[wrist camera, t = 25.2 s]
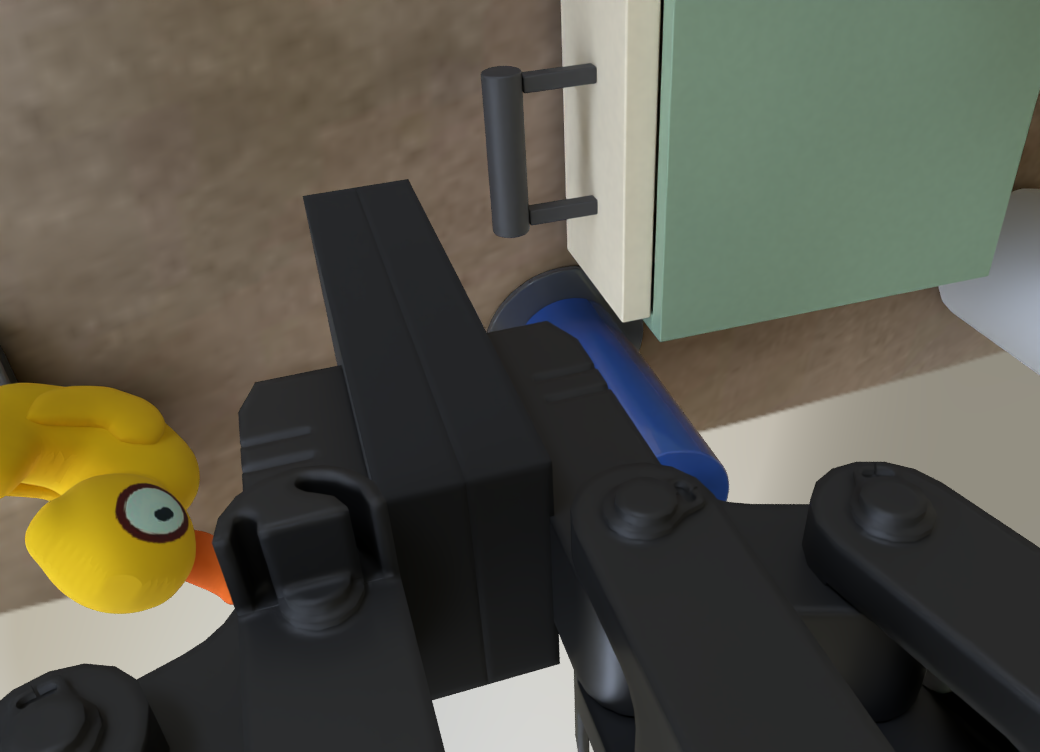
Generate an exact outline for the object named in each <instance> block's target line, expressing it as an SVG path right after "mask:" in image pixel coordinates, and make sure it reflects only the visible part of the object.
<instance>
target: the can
mask: <svg viewBox="0 0 1040 752" xmlns="http://www.w3.org/2000/svg"><path fill="white" fill-rule="evenodd" d="M938 287H939V291H940V294H941V298H942V302H943V303H944V304H945V305H946V306H947V307H948V308H949V310H950V311H951V312H952V313H954V314H955V315H956V316H958V317H959V318H961V319H962V320H963V321H965V322H966V323H968V324H969V325H970V326H972V327H973V328H974V329H976V330H977V331H979V332H980V333H981V334H983V335H984V336H986V337H987V338H988V339H990V340H991V341H992V342H994V343H995V344H997V345H998V346H999V347H1001V348H1002V349H1004V350H1005V351H1006V352H1008V353H1009V354H1011V355H1012V356H1013V357H1015V358H1016V359H1017V360H1019V361H1020V362H1022V363H1023V364H1024V365H1026V366H1027V367H1029V368H1030V369H1031V370H1033V371H1034V372H1036V373H1037V374H1038V375H1040V189H1024V188H1022V189H1019V190H1016V191H1013V192H1011V195H1010V199H1009V203H1008V206H1007V210H1006V214H1005V217H1004V221H1003V225H1002V228H1001V232H1000V235H999V239H998V243H997V246H996V250H995V254H994V257H993V261H992V265H991V268H990V272H989V275H988V276H986V277H981V278H976V279H971V280H966V281H961V282H956V283H951V284H946V285H941V286H938Z"/></svg>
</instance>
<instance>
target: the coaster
mask: <svg viewBox="0 0 1040 752" xmlns="http://www.w3.org/2000/svg"><path fill="white" fill-rule="evenodd" d="M569 298H583V299H588V300H592V301H595V302H597V303H599V304H600V305H602V306H604V307H605V308H606V309H607V310H608V311H609V312H610V313H611V315H612V316H613V317H614V319H615V320H616V321H617V323H618V324H619V325H620V327H621V328H622V330H623V331H624V332H625V334H626V335H627V336H628V338H629V339H630V340H631V342H632V343H633V344H634V346H635V347H636V349H637V350H638V351H639V349H640V346H641V342H642V337H643V319H639V320H634V321H629V322H622V321H621V320H620V319H619V317H618V316H617V315H616V313H615V312H614V311H613V309H612V308H611V307H610V305H609V304H608V303H607V301H606V300H605V299H604V297H603V296H602V295H601V293H600V292H599V291H598V289H597V288H596V287H595V285H594V284H593V283H592V281H591V280H590V279H589V277H588V276H587V275H586V273H585V272H584V271H583V269H582V268H581V267H580V266H570V267H561V268H557V269H553V270H550V271H547V272H544V273H541V274H539V275H537V276H535V277H533V278H531V279H529V280H528V281H526V282H525V283H523V284H522V285H520V286H519V287H518V288H517V289H516V290H514V291H513V292H512V293H511V294H510V295H509V296H508V297H507V298H506V299H505V300H504V301H503V303H502V304H501V305H500V307H499V308H498V309H497V311H496V313H495V315H494V316H493V318H492V320H491V323H490V325H489V327H488V331H487V333H489V332H494V331H499V330H504V329H509V328H514V327H519V326H524V325H525V324H526V323H527V322H528V320H529V319H530V318H531V317H532V316H533V315H534V314H535V313H537V312H538V311H539V310H541V309H542V308H544V307H545V306H547V305H549V304H551V303H553V302H556V301H559V300H563V299H569Z"/></svg>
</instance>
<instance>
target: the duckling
mask: <svg viewBox="0 0 1040 752" xmlns="http://www.w3.org/2000/svg"><path fill="white" fill-rule="evenodd" d="M199 480H200V475H199V467H198V463H197V460H196V458H195V456H194V454H193V452H192V450H191V449H190V447H189V446H188V445H187V444H186V443H185V441H184V440H183V439H182V438H181V437H180V436H179V435H178V434H177V433H176V432H175V431H174V430H173V429H171V428H170V427H169V426H168V425H167V424H166V423H165V421H164V418H163V416H162V415H161V413H160V412H159V410H158V409H157V408H156V407H155V406H154V405H152V404H151V403H149V402H148V401H146V400H144V399H142V398H140V397H137V396H135V395H132V394H129V393H126V392H123V391H120V390H117V389H114V388H110V387H103V386H68V387H62V386H55V385H47V384H38V383H15V384H7V385H2V386H0V498H3V497H4V496H19V497H31V498H40V499H45V500H49V501H50V502H48V503H47V504H45V505H44V506H43V507H42V508H41V509H40V510H39V512H38V513H37V514H36V516H35V517H34V518H33V520H32V521H31V523H30V525H29V527H28V529H27V531H26V535H25V543H26V547H27V550H28V552H29V553H30V555H31V556H32V557H33V559H34V560H35V561H36V562H37V563H38V564H39V566H40V567H41V568H42V569H43V571H44V572H45V574H46V575H47V576H48V578H49V579H50V580H51V581H52V582H53V584H54V585H55V586H56V587H57V588H58V589H59V590H60V591H61V592H63V593H64V594H65V595H66V596H68V597H69V598H71V599H72V600H74V601H75V602H77V603H79V604H81V605H83V606H85V607H87V608H90V609H93V610H96V611H100V612H105V613H114V614H126V613H134V612H140V611H144V610H147V609H150V608H152V607H156V606H158V605H160V604H162V603H164V602H165V601H167V600H168V599H169V598H171V597H172V596H173V595H174V594H175V593H176V592H177V591H178V589H179V588H180V587H181V586H182V585H183V583H184V582H185V581H186V582H189V583H191V584H193V585H196V586H198V587H201V588H203V589H206V590H208V591H210V592H212V593H214V594H216V595H217V596H219V597H220V598H221V599H222V600H224V602H226V603H228V604H230V605H233V602H232V599H231V596H230V593H229V590H228V588H227V585H226V582H225V579H224V576H223V573H222V570H221V568H220V565H219V562H218V559H217V556H216V553H215V551H214V548H213V545H212V540H213V535H211V534H209V533H207V532H203V531H197V530H194V528H193V525H192V522H191V519H190V517H189V515H188V513H187V511H186V510H187V508H188V507H189V506H190V505H191V503H192V501H193V500H194V498H195V496H196V494H197V491H198V487H199Z"/></svg>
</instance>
